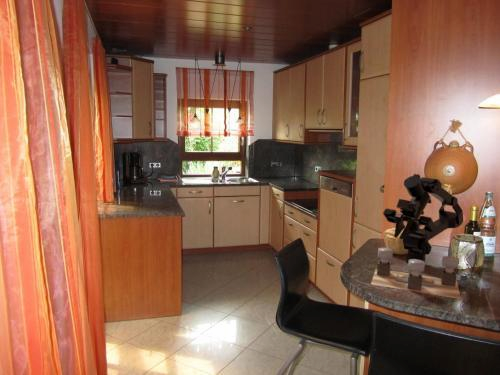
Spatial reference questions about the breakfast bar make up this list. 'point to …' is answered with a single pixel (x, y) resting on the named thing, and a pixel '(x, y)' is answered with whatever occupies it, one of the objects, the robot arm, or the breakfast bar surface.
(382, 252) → the button
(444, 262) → the button
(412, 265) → the far button
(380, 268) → the button panel
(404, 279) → the pattern card
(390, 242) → the sculpture
